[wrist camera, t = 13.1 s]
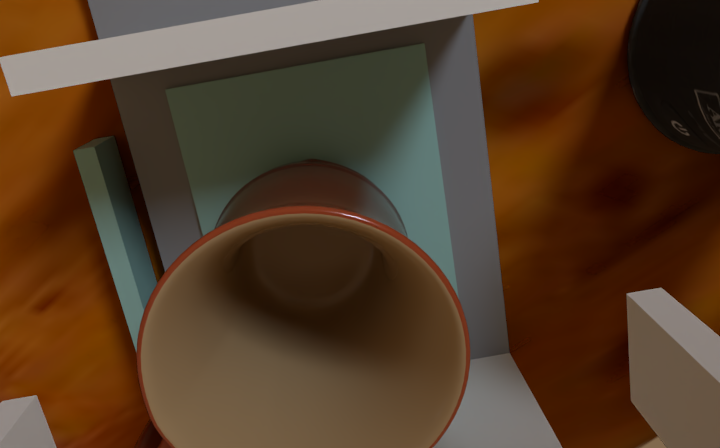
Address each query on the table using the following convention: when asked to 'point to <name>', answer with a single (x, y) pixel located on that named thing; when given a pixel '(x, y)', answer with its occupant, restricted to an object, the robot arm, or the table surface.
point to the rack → (302, 144)
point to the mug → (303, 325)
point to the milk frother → (678, 69)
